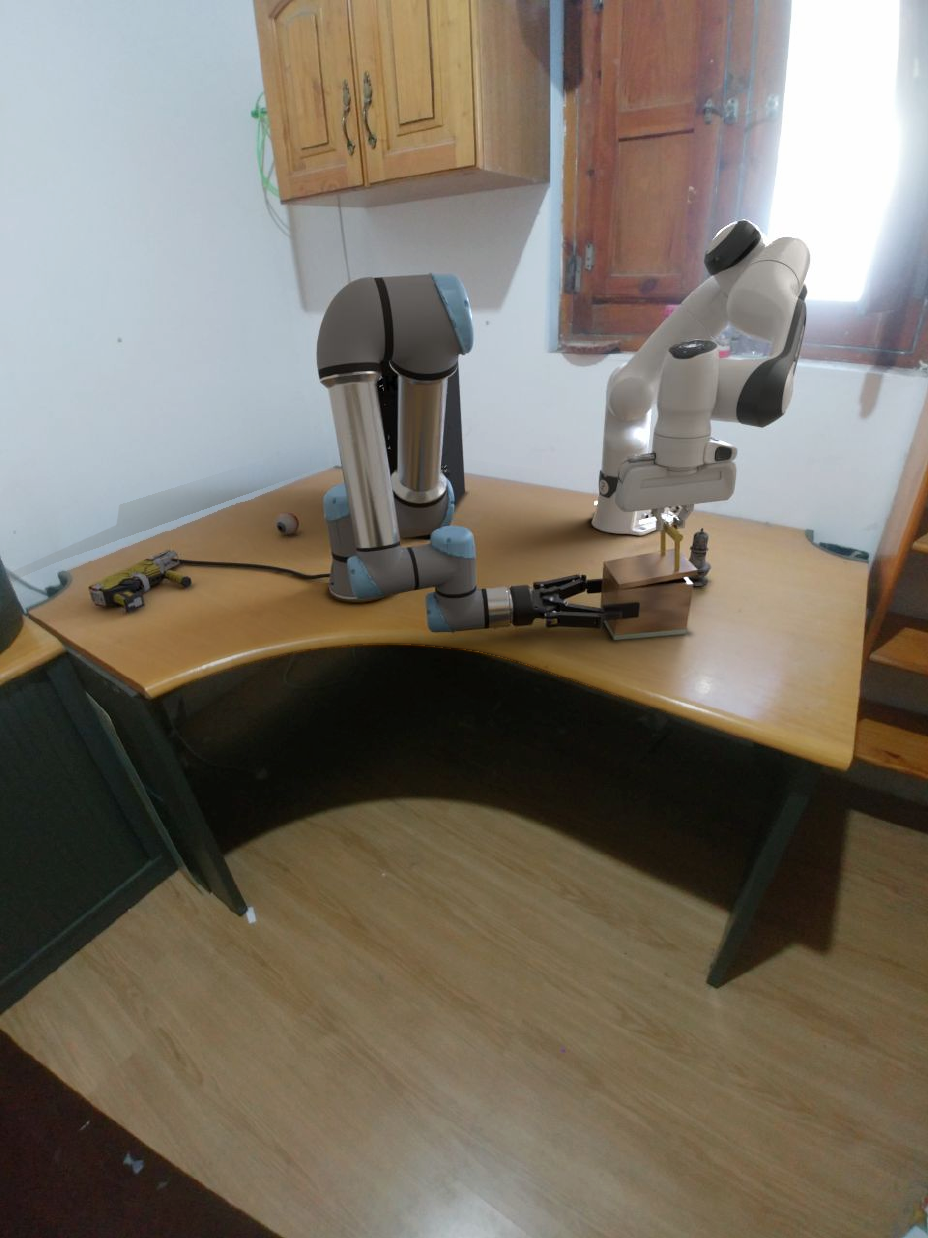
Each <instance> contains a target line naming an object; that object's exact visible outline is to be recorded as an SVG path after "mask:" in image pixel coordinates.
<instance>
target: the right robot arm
mask: <svg viewBox="0 0 928 1238" xmlns="http://www.w3.org/2000/svg"><path fill="white" fill-rule="evenodd" d="M703 263H704V267H705V269H706V271H707V272H708V274H709V275H710V277H708V278H707V279H706V280H705V281H703V282H702V283H701V284H700V285H699V286H698V287H696V288H695V289H694V290H693V291H691V292H690V294H689V295H687V296H686V298H685V299H683V301H681V303H680V304H679V305H678V306H677V307H676V308H675V309H674V310H672V312H671V313H670V314H669V315H668V316H667V317H666V318H665V320H663V321H662V323H661V324H659V326H658V327H657V328H656V329H655V330H654V331H653V332H652V333H651V334H650V336H649V337H648V338H647V340H646V341H645V342H644V343H643V344H642V345H641V347H640V348H639V349H638V350H637V351H636V352H635V354H634V355H633V356H632V357H631V358H630V360H628V362H624V363H622V364H620V365H618V366H617V367H616V368H615V369H614V370H613V371H612V372H611V374H610V376H609V377H608V380H607V382H606V383H607V384H606V390H605V392H606V393H605V394H606V395H605V412H604V423H603V425H604V426H603V438H602V453H601V468H600V470H599V474H598V492H599V493H598V498H597V500H595V501H594V506H596V507H595V511H594V514H593V517H592V520H591V525H592V526H593V527H594V528H595V529H597V530H599V531H601V532H605V533H611V534H623V535H625V534H626V535H632V536H633V535H634V536H645V535H646V534H650V533H652V532H654V531H657V532H661V531H666V530H668V527H667V526H668V525H669V523H670V524H671V525H672V526H673V527H675V528H676V529H677V530H682V529H685V528H686V522H687V519H688V518H689V517H690V515H691V514H692V512H693V511H694V509H695V505H699V504H707V503H717V502H724V501H729V500H730V498H731V497H732V496H733V495H734V493H735V488H736V482H737V471H738V469H737V465H736V463H735V461H734V460H736V458H737V456H738V453H739V452H738V448H737V447H736V446H734V445H732V444H730V443H728V442H726V441H723V440H720V439H718V438H715V437H712V436H711V435H712V425H711V421H713V422H714V421H716V422H724V423H734V424H735V423H736V424H741V425H745V426H750V427H756V428H761V429H763V428H765V427H767V426H769V425H771V424H773V423H775V422H776V421H778V420H779V419H781V418H782V417H783V416H784V415H785V414H786V412H787V410H788V408H789V406H790V404H791V400H792V397H793V392H794V377H795V374H796V370H797V365H798V362H799V357H800V353H801V349H802V345H803V342H804V341H803V340H804V336H805V331H806V325H807V315H808V314H807V311H808V310H807V304H806V298H807V295H808V289H807V285H806V280H807V277H808V274H809V269H810V265H811V253H810V249H809V248H808V246H807V244H806V243H805V242H804V241H803V240H802V239H800V238H798V237H796V236H792V235H782V236H778V237H775V238H774V239H772V240H770V239H769V238H768V237H767V236H766V235H765V234H764V233H762V232H761V231H760V228H759V227H758V226H757V225H756V224H754V223H753V222H751V221H750V220H747V219H739V220H738V219H737V220H735V221H733V222H732V223H730V224H729V225H727V226H725V227H723V228H722V229H721V230H720V231H719V232H717V234H716V235H715V236H714V237H713V239H712V241H711V242H710V244H709V246H708V247H707V250H706V251H705V253H704V259H703ZM730 325H731V326H732V328H733V329H734V330H735V331H736V332H737V333H738V334H739V335H740V336H743V337H744V338H746V339H750V340H754V341H758V342H763V343H766V344H770V345H771V346H772V347H771V350H770V354H769V356H767V357H762V358H753V359H752V358H725V357H720V350H719V345H718V343H716V342H715V340H717V339H718V338H719V337H720V336H721V335H722V334H723V332H724V331H725V330H726V329H727V328H728V327H729V326H730ZM655 405H656V410H657V419H656V422H655V425H654V428H653V436H652V442H651V443H652V444H651V452H649V446H650V435H651V418H652V408H653V407H654V406H655ZM674 507H675V510H676V511H678V510H680V507H681V510H680V511H679V513H678V515H676V514H675V513H674V512H672V511H670V509H672V508H674Z"/></svg>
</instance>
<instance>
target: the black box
mask: <svg viewBox="0 0 928 1238" xmlns="http://www.w3.org/2000/svg"><path fill="white" fill-rule="evenodd" d="M459 366H460V365H459V364H458V367H457V370H456V371H455V373H454V374H453V375H451V376H450V377H448V381H447V394H446V406H445V419H444V432H443V444H442V457H441V469H440V471H441V472H442V473H443V474H444V476H445V478H447V479H448V480H449V481H450V483H451V486H452V489H453V493H454V507H455V508H456V506H457V504H458V503H459V501H460V500H461V498H462V497H463V496H464V495H465V493H466V483H465V462H464V446H463V445H464V444H463V443H464V442H463V426H462V425H463V423H462V403H461V388H460V387H461V386H460V367H459ZM380 368H381V377H380V378H379V380H378V381H377V384H376V385H377V391H378V398H379V404H380V411H381V417H382V424H383V430H384V437H385V443H386V450H387V456H388V463H389V469H390V476H391V475H392V474H393V472H394V471H395V470H396V469H397V468H398V374H397V373H396V372H395V371H394V370H393V369H392V368H391V366H390V364H389V361H380ZM411 538H414V539H415V538H416V539H431V534H430V535H422V536H415V537H410V539H411Z"/></svg>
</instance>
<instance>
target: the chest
mask: <svg viewBox="0 0 928 1238" xmlns="http://www.w3.org/2000/svg"><path fill="white" fill-rule="evenodd" d="M601 579H602V590H601V593H600V604H599V605H600V606H599V608H602V605H612V604H624V603H636V602H639V604H640V608H639V617H638V618H626V619H616V620H605V621H604V622H603V624H604V625H605V626H606V628H607V630H608V632H609V633H610V635H611V637H612V639H613V640H614V641H616V640H617V641H620V640H631V639H641V638H652V637H665V636H676V635H686V634H687V627H688V621H689V615H690V608H691V602H692V596H693V590H694V586H693V583H692V582H691V581H690V580H689V579H688V577H684V578H679V579H674V580H668V581H663V582H657V583H652V584H647V585H641V586H636V587H631V588H625V589H620V590H619V589H618V587H617V586H616V584H615V583H614V581H613V580H612V578H611V577H610V575H609V574H608V572H607V571H606V570H605V568H604V567H602V578H601Z"/></svg>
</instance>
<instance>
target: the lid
mask: <svg viewBox="0 0 928 1238" xmlns="http://www.w3.org/2000/svg"><path fill="white" fill-rule="evenodd" d="M667 527H668V530H666V531H660V550H659V551H653V552H649V553H642V554H637V555H632V556H627V557H620V558H615V559H610V560H606V561H603V562H602V563H603V567H604V568H605V570H606V571H607V572H608V574H609V575H610V577H611V578H612V580H613V581H614V583H615V584H616V586H617V587H618V589H619V590H620V589H625V588H631V587H636V586H641V585H647V584H652V583H657V582H663V581H668V580H674V579H679V578H684V577H690V576H695V575H698V570H697V569H696V568H695V567H694V566H693V565H692V563H691V562H690V561H689V558H687V557H686V556H685V555H684V554H683V553H682V552H681V542H682V541H683V539H684V535H683V534H682V533H681V532H680V531H679V529H676V528H675V527H673V526H672V524H670V523H669V525H668V526H667ZM666 536H668V537H670V538H671V540H673V542H674V548H670V549H666V548H667V547H666V545H667V543H666V541H667V540H666V539H667V537H666ZM603 567H602V568H603Z"/></svg>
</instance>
